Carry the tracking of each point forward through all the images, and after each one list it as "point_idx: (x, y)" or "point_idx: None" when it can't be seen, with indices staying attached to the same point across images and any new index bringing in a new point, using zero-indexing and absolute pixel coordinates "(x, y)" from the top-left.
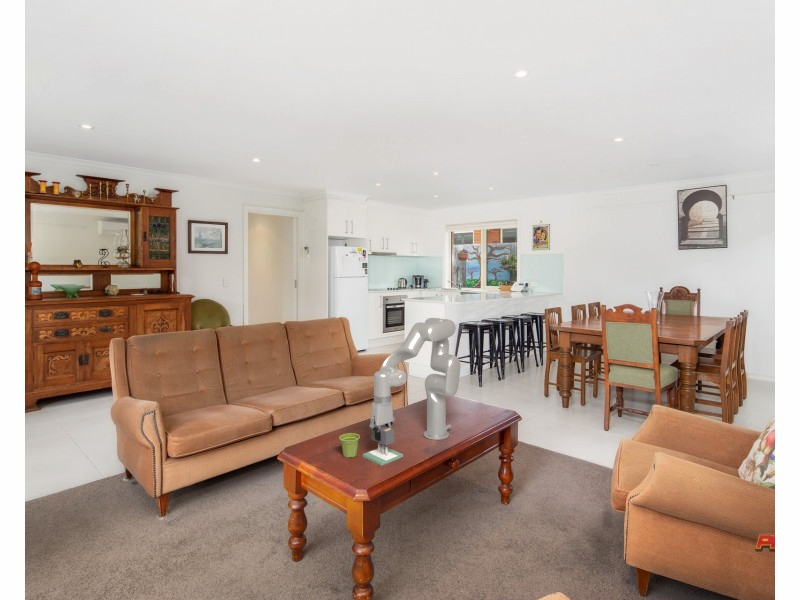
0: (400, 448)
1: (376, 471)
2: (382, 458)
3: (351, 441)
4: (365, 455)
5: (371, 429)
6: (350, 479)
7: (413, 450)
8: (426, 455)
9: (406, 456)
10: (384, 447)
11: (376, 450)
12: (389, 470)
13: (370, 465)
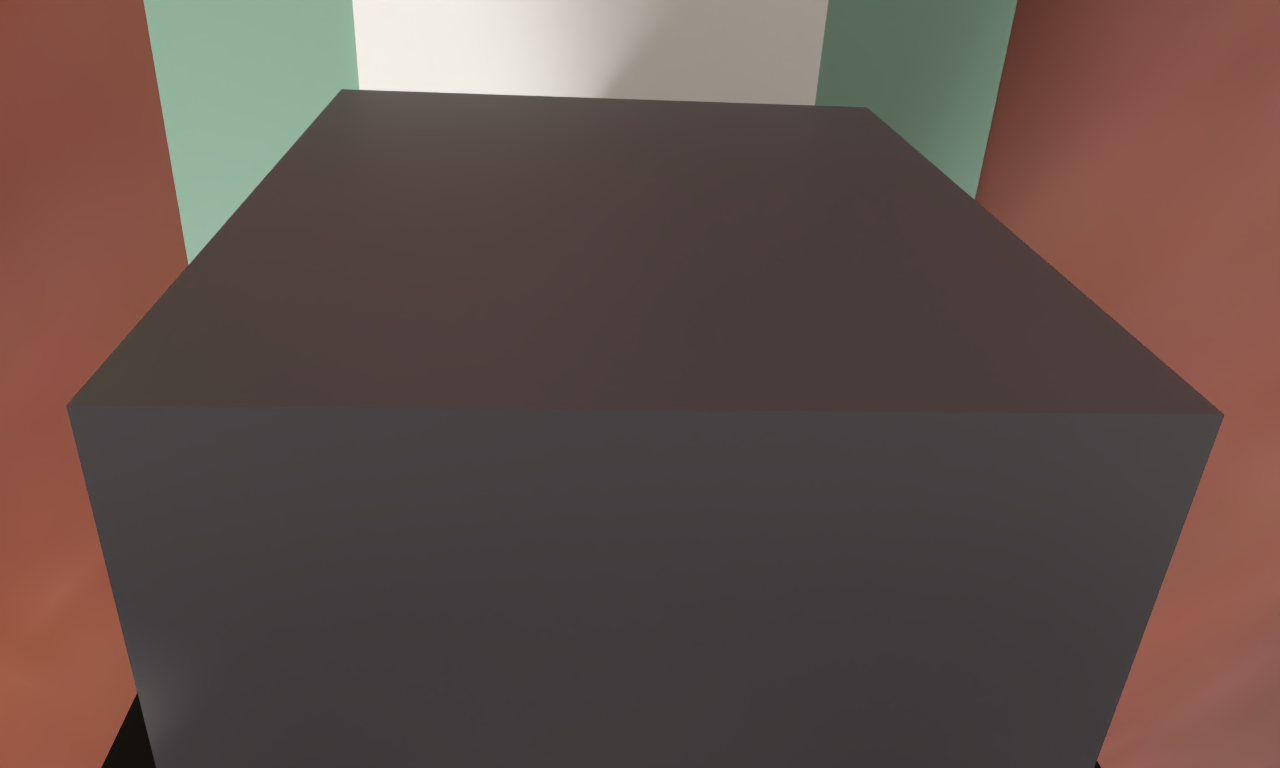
0: (1236, 233)
1: (30, 658)
2: None
3: None
4: (148, 18)
5: (183, 329)
6: None
7: (1263, 495)
8: (1162, 757)
9: None
10: (964, 4)
11: (622, 14)
12: None
13: (61, 408)
